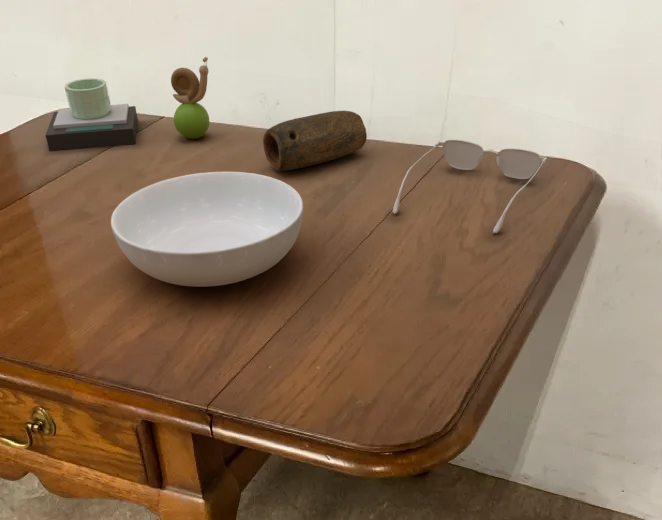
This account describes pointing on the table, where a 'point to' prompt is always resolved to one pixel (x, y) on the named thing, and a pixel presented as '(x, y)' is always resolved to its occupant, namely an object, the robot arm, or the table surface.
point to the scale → (92, 129)
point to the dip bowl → (88, 98)
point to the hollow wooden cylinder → (313, 139)
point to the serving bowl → (208, 227)
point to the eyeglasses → (471, 154)
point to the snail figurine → (190, 101)
